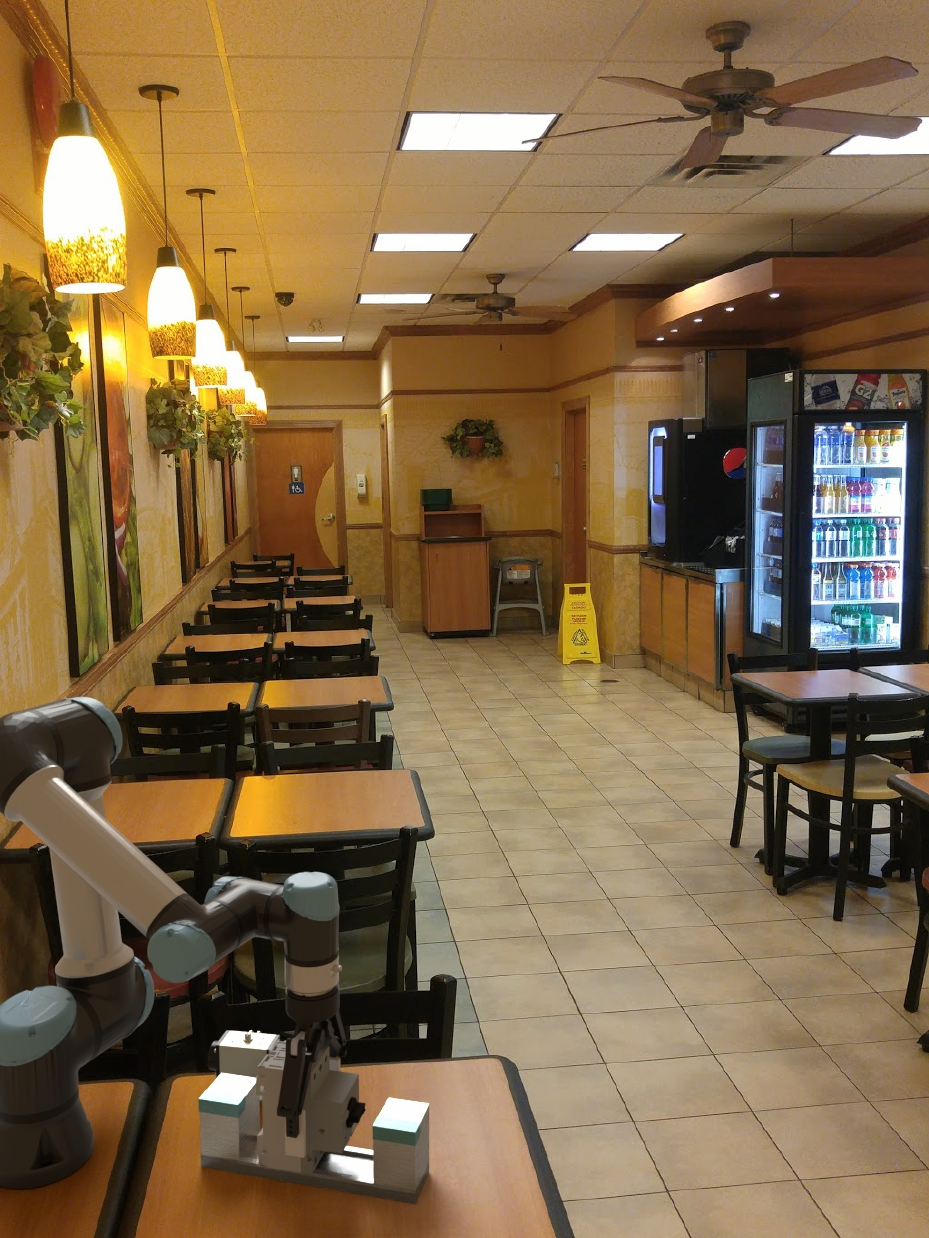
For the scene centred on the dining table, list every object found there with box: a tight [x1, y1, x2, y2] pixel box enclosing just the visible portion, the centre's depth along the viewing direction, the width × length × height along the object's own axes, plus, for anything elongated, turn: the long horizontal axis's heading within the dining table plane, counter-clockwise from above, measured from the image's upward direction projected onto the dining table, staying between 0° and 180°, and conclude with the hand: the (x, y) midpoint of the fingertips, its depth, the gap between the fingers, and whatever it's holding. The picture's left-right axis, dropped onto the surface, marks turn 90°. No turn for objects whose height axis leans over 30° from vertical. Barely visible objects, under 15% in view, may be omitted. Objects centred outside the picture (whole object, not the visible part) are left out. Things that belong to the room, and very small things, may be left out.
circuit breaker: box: [256, 1039, 367, 1174], centre depth 154 cm, size 8×14×15 cm, turn 78°
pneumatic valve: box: [207, 1029, 281, 1105], centre depth 171 cm, size 6×12×12 cm, turn 81°
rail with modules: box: [198, 1073, 430, 1205], centre depth 154 cm, size 32×7×11 cm, turn 76°
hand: (314, 1126), depth 154 cm, fingers open, 13 cm apart
